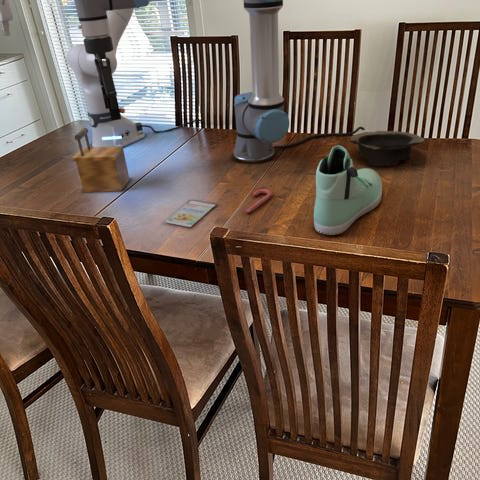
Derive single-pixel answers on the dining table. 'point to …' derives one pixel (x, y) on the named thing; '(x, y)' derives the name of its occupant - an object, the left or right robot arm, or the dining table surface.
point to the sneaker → (343, 192)
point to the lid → (94, 150)
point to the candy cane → (261, 201)
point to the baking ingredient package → (190, 213)
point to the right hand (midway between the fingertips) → (113, 113)
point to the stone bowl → (385, 146)
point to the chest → (103, 174)
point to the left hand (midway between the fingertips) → (1, 34)
